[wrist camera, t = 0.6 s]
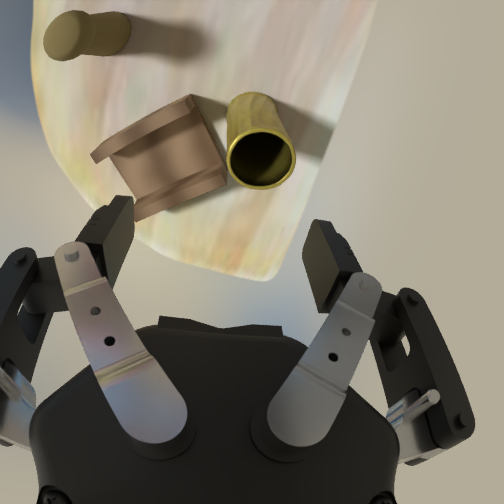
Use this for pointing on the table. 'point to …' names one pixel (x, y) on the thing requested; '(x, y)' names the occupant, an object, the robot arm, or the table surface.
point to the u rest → (165, 157)
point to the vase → (257, 143)
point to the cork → (86, 34)
